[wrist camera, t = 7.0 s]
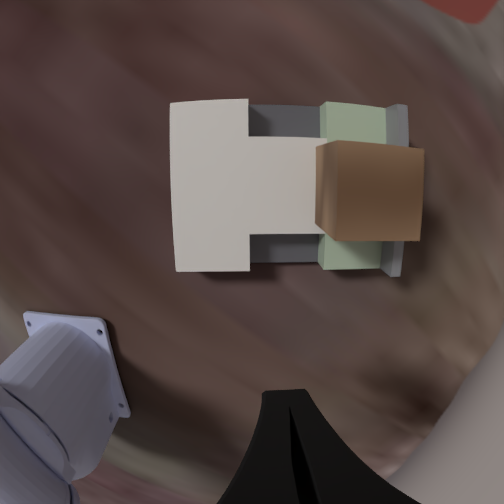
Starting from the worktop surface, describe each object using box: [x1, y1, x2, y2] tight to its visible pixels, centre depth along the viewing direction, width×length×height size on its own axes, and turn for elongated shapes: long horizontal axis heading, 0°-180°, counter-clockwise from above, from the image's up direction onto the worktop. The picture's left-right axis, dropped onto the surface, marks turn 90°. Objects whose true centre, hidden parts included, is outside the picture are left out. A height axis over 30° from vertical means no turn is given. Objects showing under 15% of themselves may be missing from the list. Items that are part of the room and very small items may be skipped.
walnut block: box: [315, 140, 424, 241], centre depth 13 cm, size 4×4×4 cm
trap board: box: [170, 99, 409, 277], centre depth 16 cm, size 9×12×4 cm
